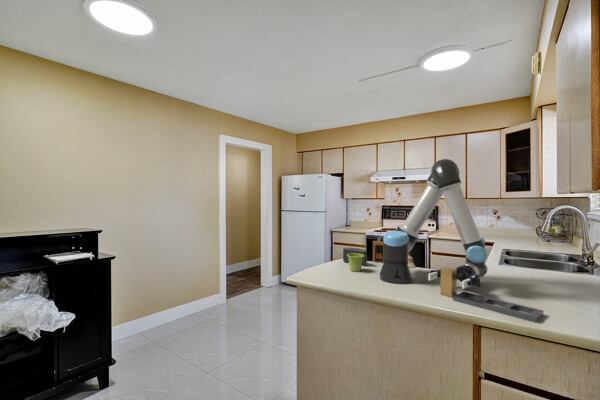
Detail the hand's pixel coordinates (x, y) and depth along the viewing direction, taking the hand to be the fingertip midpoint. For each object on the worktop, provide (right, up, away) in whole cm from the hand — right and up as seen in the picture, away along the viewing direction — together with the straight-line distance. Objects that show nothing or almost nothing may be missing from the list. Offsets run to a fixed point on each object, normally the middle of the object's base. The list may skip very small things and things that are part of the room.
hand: (445, 280), depth 119 cm
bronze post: (+2, -7, +2) cm, 7 cm away
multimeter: (-9, -6, +69) cm, 70 cm away
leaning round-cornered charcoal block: (-26, -6, +58) cm, 64 cm away
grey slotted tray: (+13, -7, -11) cm, 18 cm away
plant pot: (-29, -6, +42) cm, 52 cm away
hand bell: (+5, -7, +54) cm, 55 cm away
